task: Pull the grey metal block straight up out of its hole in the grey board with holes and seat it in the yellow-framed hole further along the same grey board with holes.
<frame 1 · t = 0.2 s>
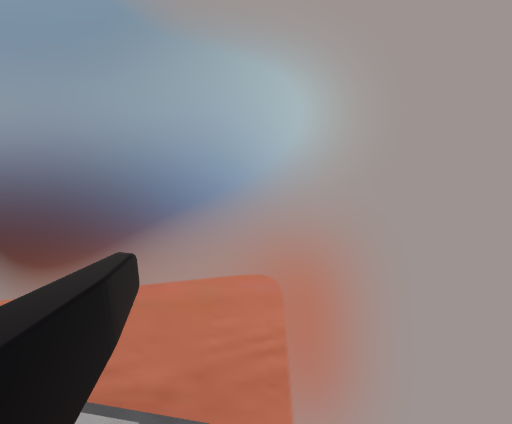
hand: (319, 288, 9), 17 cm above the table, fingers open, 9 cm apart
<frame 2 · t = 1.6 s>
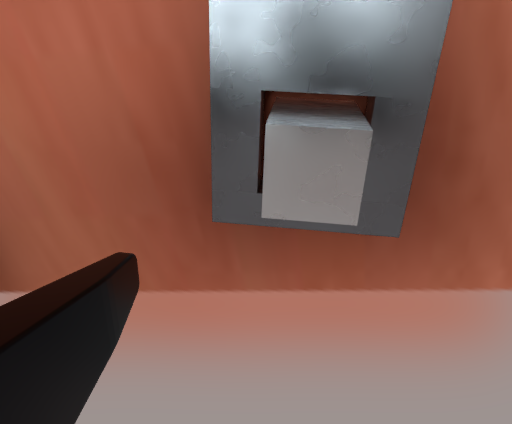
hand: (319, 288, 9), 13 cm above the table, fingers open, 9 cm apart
grey metal block: (311, 137, 21), resting in grey board with holes
grey board with holes: (324, 10, 18), on the table
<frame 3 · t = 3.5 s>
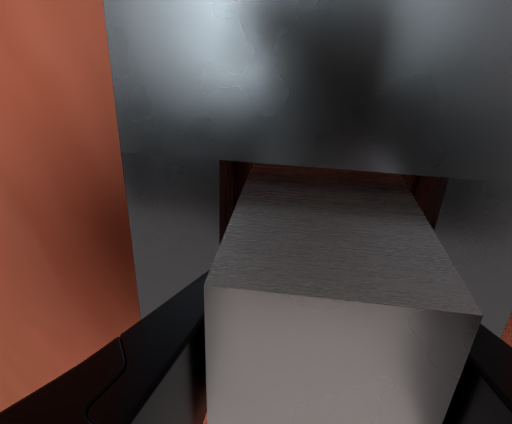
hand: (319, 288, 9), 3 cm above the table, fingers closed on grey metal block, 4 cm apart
grey metal block: (317, 226, 12), resting in grey board with holes, touching gripper
grey board with holes: (344, 3, 9), on the table
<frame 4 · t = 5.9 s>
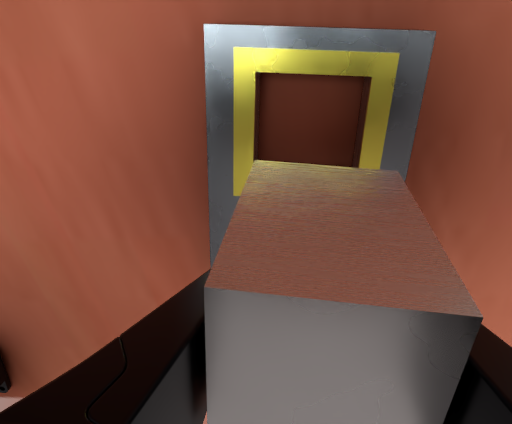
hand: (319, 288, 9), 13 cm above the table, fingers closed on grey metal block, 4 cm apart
grey metal block: (317, 227, 12), point 10 cm above the table, touching gripper
grey board with holes: (299, 221, 23), on the table
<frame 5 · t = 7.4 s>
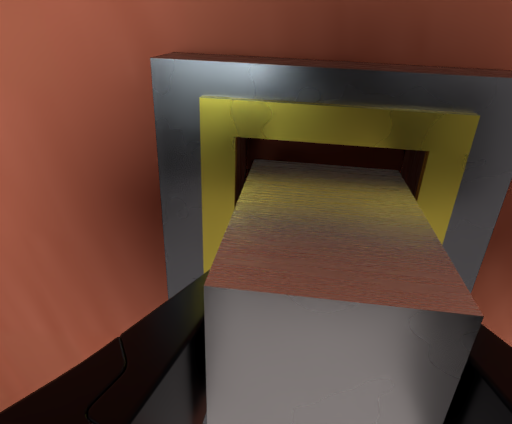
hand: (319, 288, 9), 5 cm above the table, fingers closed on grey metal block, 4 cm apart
grey metal block: (317, 226, 12), point 2 cm above the table, touching gripper
grey board with holes: (302, 326, 16), on the table
when the fingers open (4 cm above the table, at t = 8.3 s): grey metal block drops 1 cm, resting in grey board with holes.
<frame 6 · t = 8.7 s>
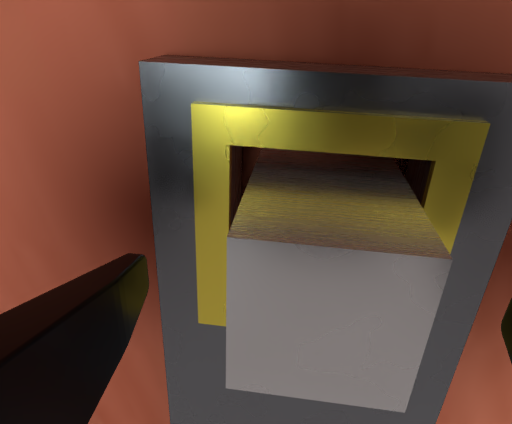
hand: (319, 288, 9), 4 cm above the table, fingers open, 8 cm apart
grey metal block: (318, 206, 13), resting in grey board with holes
grey board with holes: (301, 339, 16), on the table
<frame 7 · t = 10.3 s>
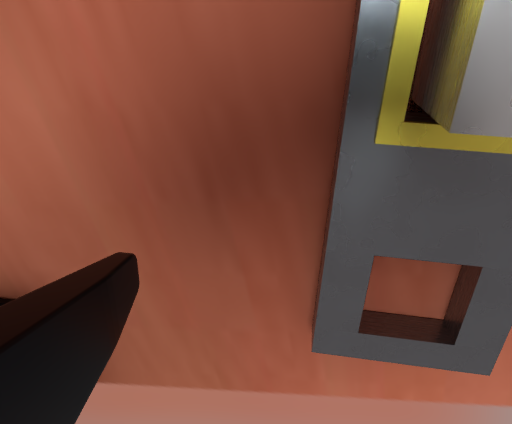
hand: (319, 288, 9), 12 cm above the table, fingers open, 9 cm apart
grey metal block: (468, 54, 17), resting in grey board with holes
grey board with holes: (433, 182, 20), on the table
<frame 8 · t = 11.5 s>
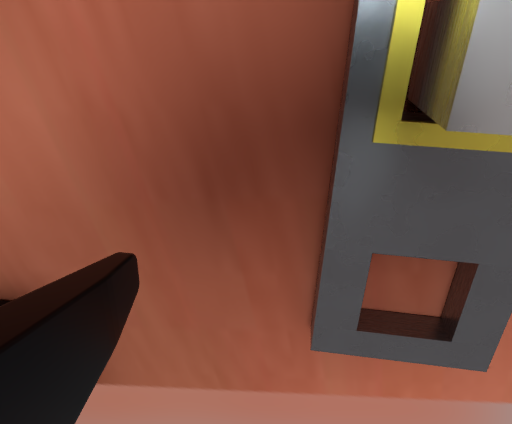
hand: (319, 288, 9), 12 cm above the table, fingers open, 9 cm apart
grey metal block: (462, 55, 17), resting in grey board with holes
grey board with holes: (430, 180, 20), on the table
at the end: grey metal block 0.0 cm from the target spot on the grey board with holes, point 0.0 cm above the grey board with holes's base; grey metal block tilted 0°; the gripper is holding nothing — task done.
